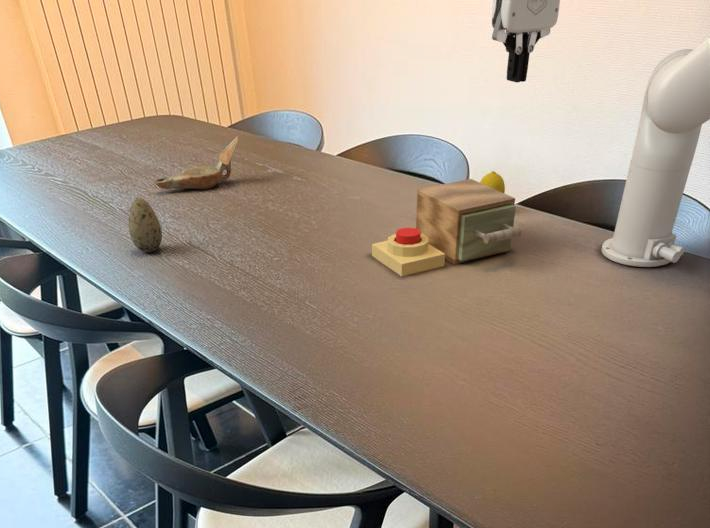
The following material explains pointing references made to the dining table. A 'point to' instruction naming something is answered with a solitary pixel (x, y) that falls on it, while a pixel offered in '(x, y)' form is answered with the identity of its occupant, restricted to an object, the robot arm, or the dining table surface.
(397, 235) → the red button
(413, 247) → the button box
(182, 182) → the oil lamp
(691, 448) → the dining table surface
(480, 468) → the dining table surface
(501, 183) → the lemon
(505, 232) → the drawer
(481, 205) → the cabinet
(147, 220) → the decorative egg
